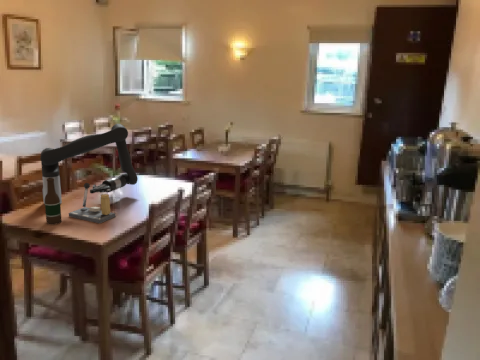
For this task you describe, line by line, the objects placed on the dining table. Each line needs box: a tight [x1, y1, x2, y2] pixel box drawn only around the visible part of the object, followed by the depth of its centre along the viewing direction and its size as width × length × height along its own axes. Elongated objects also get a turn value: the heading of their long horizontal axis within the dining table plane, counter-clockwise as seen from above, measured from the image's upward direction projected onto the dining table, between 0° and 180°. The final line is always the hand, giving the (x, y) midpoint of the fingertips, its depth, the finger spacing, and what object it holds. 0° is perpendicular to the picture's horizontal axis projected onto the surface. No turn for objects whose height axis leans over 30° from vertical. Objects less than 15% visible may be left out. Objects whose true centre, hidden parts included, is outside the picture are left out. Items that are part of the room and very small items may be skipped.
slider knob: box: [100, 193, 111, 215], centre depth 221 cm, size 4×4×11 cm
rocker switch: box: [88, 206, 101, 212], centre depth 226 cm, size 4×4×2 cm
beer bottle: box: [44, 178, 62, 225], centre depth 212 cm, size 8×8×24 cm
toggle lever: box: [82, 182, 91, 208], centre depth 229 cm, size 3×3×14 cm
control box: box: [68, 206, 116, 224], centre depth 224 cm, size 22×12×2 cm, turn 66°
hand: (90, 191), depth 232 cm, fingers closed
